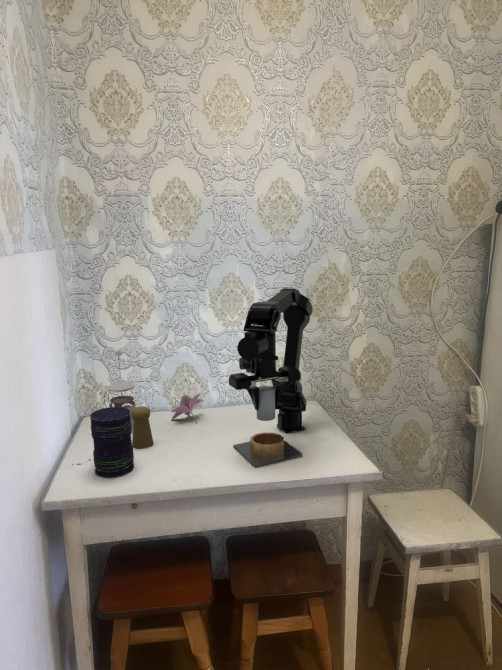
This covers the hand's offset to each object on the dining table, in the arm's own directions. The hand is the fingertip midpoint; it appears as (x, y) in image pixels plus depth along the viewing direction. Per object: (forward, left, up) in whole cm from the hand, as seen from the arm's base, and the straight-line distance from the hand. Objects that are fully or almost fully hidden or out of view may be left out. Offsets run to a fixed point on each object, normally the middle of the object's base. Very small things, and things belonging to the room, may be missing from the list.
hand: (265, 408), depth 134 cm
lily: (+11, -33, -13) cm, 37 cm away
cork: (+29, -21, -13) cm, 38 cm away
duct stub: (0, 0, -2) cm, 3 cm away
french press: (+32, -36, -13) cm, 50 cm away
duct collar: (0, 0, -12) cm, 12 cm away
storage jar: (+39, -9, -13) cm, 42 cm away
